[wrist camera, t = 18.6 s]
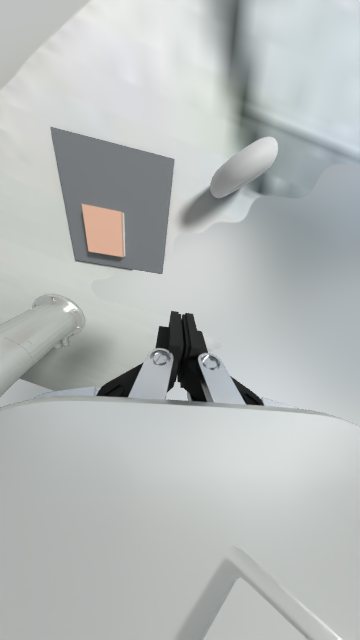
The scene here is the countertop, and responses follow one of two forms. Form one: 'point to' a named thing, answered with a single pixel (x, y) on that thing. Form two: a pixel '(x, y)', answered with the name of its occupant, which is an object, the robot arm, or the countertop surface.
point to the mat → (116, 196)
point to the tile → (104, 230)
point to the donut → (244, 167)
